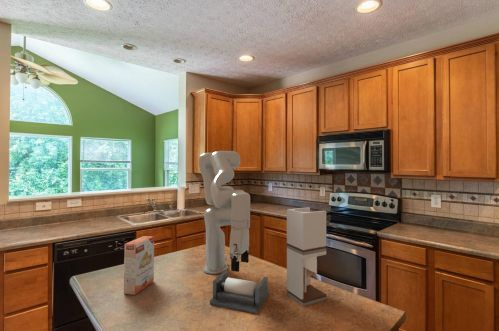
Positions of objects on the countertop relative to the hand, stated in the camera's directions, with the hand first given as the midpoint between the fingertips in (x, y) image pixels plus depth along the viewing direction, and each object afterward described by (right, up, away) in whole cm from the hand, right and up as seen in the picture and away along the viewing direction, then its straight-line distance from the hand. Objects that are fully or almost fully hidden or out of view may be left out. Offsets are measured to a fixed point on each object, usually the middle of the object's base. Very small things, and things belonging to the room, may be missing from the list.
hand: (240, 266), depth 109 cm
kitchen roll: (0, -8, -1) cm, 8 cm away
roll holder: (0, -13, -1) cm, 13 cm away
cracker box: (-44, -13, +10) cm, 47 cm away
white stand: (+27, -13, +1) cm, 30 cm away
